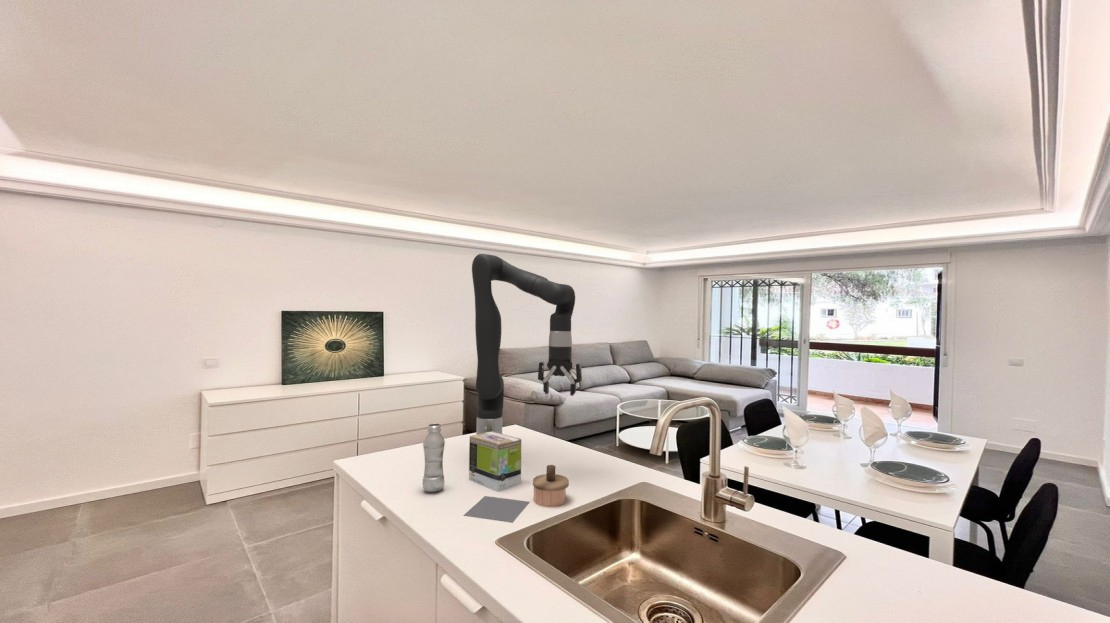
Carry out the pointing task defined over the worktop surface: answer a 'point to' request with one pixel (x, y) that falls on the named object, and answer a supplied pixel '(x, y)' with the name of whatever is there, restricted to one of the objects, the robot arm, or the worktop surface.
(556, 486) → the lid
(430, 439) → the plastic bottle
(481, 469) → the tea box
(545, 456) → the worktop surface
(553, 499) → the bowl
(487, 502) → the mat
